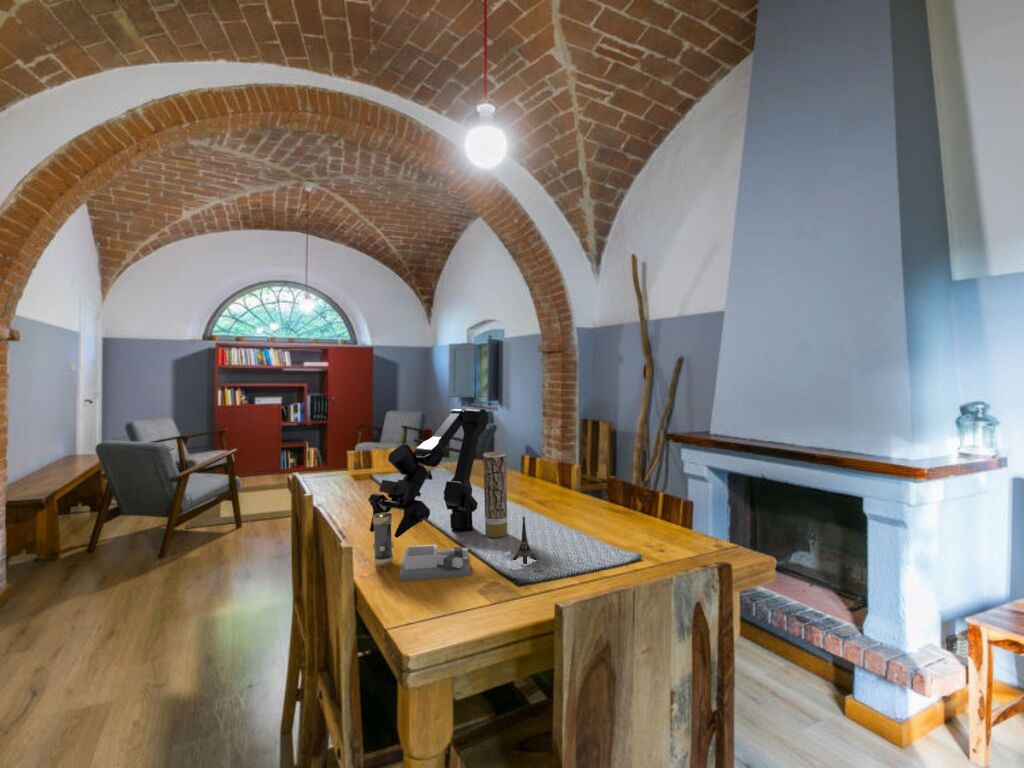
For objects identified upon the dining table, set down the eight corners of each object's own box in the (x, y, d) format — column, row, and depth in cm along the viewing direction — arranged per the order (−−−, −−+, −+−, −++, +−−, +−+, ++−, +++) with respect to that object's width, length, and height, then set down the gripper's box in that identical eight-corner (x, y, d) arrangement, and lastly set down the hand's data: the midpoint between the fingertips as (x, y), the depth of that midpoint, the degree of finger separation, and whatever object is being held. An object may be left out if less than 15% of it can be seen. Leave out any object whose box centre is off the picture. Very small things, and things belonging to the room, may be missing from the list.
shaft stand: (466, 554, 140) (466, 538, 140) (470, 576, 125) (469, 558, 125) (403, 559, 137) (403, 543, 137) (399, 582, 123) (399, 563, 123)
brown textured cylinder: (504, 538, 152) (503, 455, 151) (482, 537, 153) (480, 455, 153) (509, 531, 159) (507, 451, 158) (488, 530, 160) (486, 451, 159)
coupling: (394, 559, 138) (393, 511, 137) (393, 566, 132) (391, 517, 132) (374, 560, 137) (373, 513, 136) (372, 568, 132) (370, 518, 131)
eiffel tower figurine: (503, 552, 142) (502, 505, 142) (539, 551, 143) (538, 504, 142) (504, 574, 127) (503, 522, 127) (544, 573, 128) (543, 520, 127)
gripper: (372, 464, 143) (341, 513, 134) (421, 470, 133) (391, 523, 124) (393, 486, 150) (365, 534, 141) (442, 494, 140) (415, 545, 131)
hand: (383, 534), depth 134 cm, fingers open, 9 cm apart
